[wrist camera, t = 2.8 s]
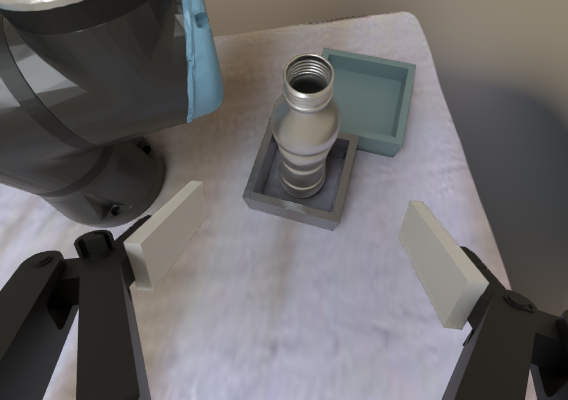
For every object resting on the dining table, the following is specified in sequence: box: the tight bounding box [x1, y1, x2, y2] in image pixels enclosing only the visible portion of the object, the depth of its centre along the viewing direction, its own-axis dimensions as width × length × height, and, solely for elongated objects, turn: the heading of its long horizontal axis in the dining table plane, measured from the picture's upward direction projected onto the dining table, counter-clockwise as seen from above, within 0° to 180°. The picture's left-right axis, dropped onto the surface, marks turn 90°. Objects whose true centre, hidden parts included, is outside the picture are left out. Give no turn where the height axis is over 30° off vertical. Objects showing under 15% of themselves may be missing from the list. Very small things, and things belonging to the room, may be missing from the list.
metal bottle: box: [271, 53, 341, 198], centre depth 27 cm, size 6×7×20 cm
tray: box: [322, 48, 416, 157], centre depth 38 cm, size 14×14×4 cm
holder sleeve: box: [243, 117, 359, 231], centre depth 34 cm, size 12×12×5 cm
